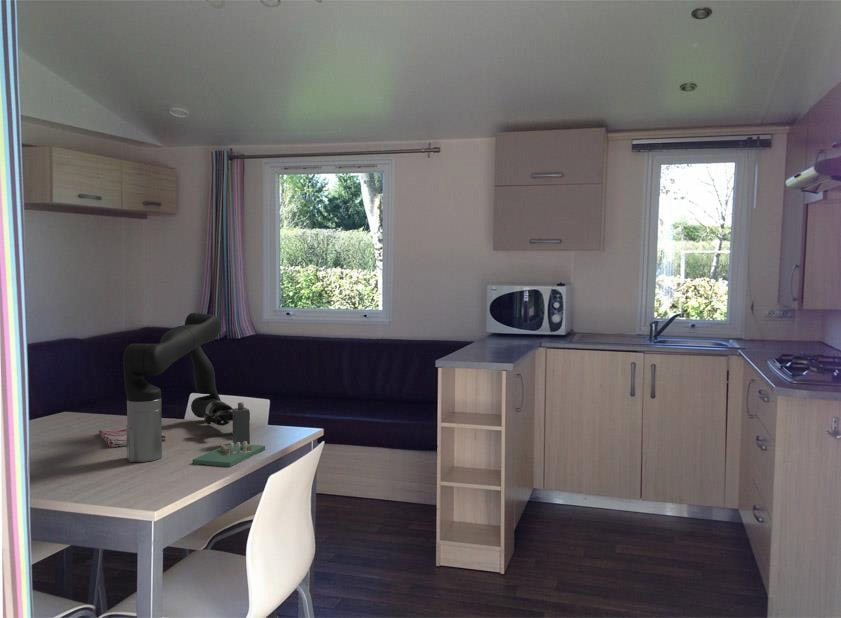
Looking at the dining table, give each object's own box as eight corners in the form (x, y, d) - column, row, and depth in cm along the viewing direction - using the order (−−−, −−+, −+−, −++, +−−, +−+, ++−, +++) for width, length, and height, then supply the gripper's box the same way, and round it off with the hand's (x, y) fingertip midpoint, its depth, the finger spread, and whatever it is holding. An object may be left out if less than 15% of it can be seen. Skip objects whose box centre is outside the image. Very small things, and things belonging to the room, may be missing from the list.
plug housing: (236, 446, 216) (236, 404, 215) (232, 443, 220) (232, 402, 219) (249, 444, 218) (249, 403, 217) (245, 441, 222) (244, 401, 221)
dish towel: (109, 450, 213) (109, 439, 212) (97, 435, 232) (97, 425, 232) (167, 443, 222) (167, 432, 222) (151, 429, 241) (150, 419, 241)
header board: (230, 466, 192) (230, 451, 192) (192, 463, 195) (192, 448, 195) (265, 449, 211) (265, 436, 211) (230, 447, 214) (229, 433, 214)
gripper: (198, 403, 235) (211, 411, 221) (239, 400, 243) (254, 407, 229) (198, 425, 235) (211, 434, 222) (239, 421, 243) (254, 429, 229)
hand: (233, 420), depth 225 cm, fingers open, 8 cm apart
